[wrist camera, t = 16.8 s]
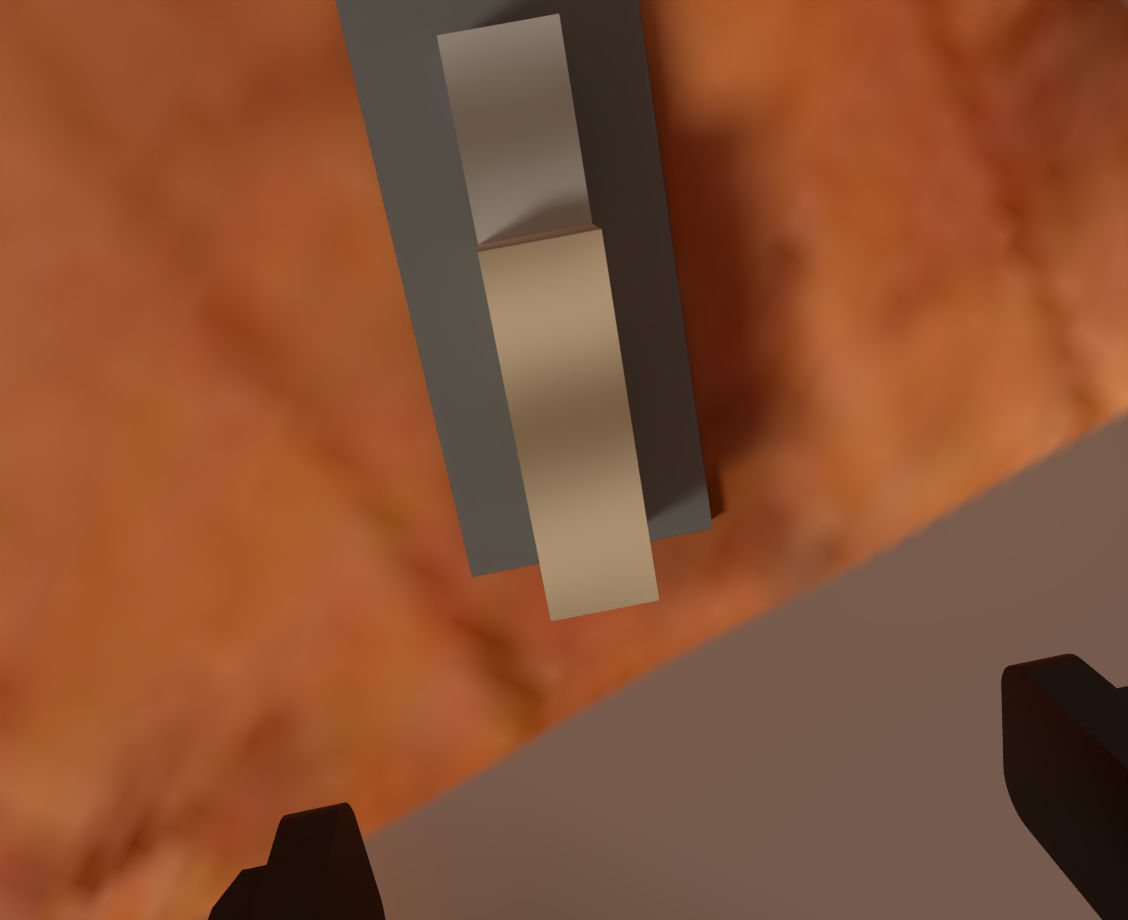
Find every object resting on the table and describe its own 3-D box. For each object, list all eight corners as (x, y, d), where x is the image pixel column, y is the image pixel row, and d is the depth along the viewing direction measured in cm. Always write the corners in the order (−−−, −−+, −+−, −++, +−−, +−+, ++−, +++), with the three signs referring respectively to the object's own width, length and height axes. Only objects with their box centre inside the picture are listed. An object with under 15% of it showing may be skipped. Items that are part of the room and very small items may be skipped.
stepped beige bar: (631, 530, 30) (659, 600, 25) (540, 547, 30) (551, 621, 25) (550, 30, 25) (565, -1, 20) (442, 49, 25) (432, 23, 20)
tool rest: (472, 569, 30) (472, 576, 30) (331, -29, 25) (327, -34, 24) (708, 521, 31) (712, 528, 30) (622, -84, 25) (626, -90, 24)
